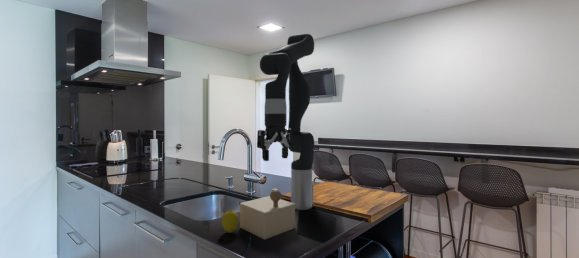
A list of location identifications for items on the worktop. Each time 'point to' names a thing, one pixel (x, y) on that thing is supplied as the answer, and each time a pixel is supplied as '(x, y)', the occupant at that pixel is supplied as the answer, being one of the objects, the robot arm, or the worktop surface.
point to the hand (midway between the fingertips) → (275, 159)
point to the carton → (267, 222)
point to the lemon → (230, 221)
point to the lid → (268, 203)
